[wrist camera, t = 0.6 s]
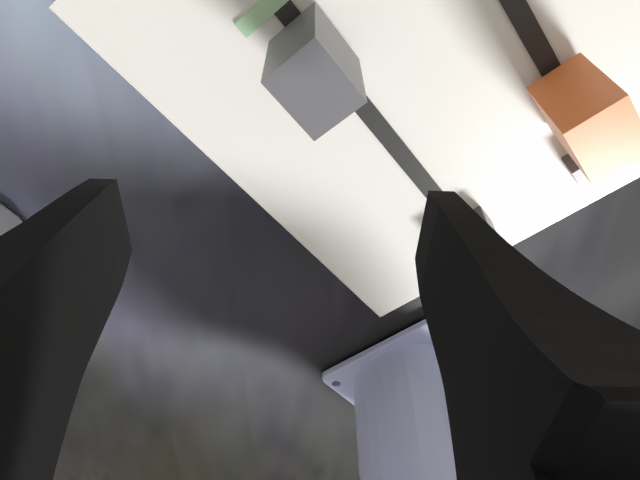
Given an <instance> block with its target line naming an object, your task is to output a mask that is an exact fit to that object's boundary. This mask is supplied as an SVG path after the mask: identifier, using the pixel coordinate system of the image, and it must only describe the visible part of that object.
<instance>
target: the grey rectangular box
mask: <svg viewBox="0 0 640 480" xmlns="http://www.w3.org/2000/svg"><path fill="white" fill-rule="evenodd" d="M261 84H262V85H263V86H264V87H265V88H266V89H267V90H268V91H269V92H270V93H271V95H272V96H273V97H274V98H275V99H276V100H277V101H278V102H279V103H280V104H281V106H282V107H283V108H284V109H285V110H286V111H287V112H288V113H289V114H290V115H291V117H292V118H293V119H294V120H295V121H296V122H297V123H298V124H299V125H300V126H301V127H302V129H303V130H304V131H305V132H306V133H307V134H308V135H309V136H310V137H311V138H312V140H313V141H316V140H317V139H318V138H320V137H321V136H322V135H324V134H325V133H326V132H328V131H329V130H330V129H332V128H333V127H335V126H336V125H337V124H339V123H340V122H341V121H343V120H344V119H345V118H347V117H348V116H349V115H351V114H352V113H354V112H355V111H356V110H358V109H359V108H360V107H362V106H363V105H364V104H366V103H367V98H366V92H365V87H364V82H363V76H362V71H361V66H360V60H359V58H358V57H357V55H356V54H355V53H354V51H353V50H352V49H351V47H350V46H349V45H348V44H347V42H346V41H345V40H344V38H343V37H342V36H341V35H340V33H339V32H338V31H337V29H336V28H335V27H334V25H333V24H332V23H331V22H330V20H329V19H328V18H327V16H326V15H325V14H324V12H323V11H322V10H321V9H320V7H319V6H318V5H317V3H316V2H314V3H312V4H311V5H310V6H309V7H308V8H307V9H305V10H304V11H303V12H302V13H301V14H300V15H299V16H297V17H296V18H295V19H294V20H293V21H292V22H290V23H289V24H288V25H287V26H286V27H285V28H284V29H282V30H281V31H280V32H279V33H278V34H277V35H275V36H274V37H273V38H272V39H271V40H270V41H269V43H268V48H267V53H266V58H265V63H264V68H263V73H262V78H261Z"/></svg>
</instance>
